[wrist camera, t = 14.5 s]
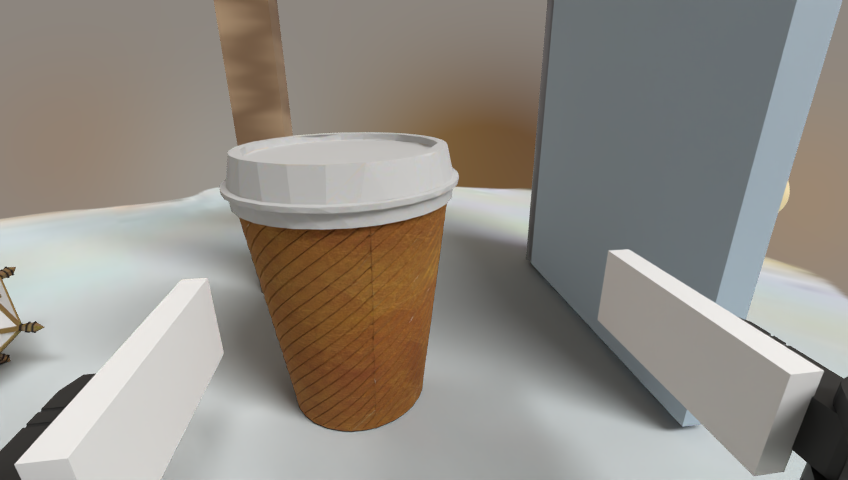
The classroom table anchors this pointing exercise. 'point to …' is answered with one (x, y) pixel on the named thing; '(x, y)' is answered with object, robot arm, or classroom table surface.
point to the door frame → (254, 68)
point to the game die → (10, 317)
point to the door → (669, 143)
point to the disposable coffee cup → (346, 262)
